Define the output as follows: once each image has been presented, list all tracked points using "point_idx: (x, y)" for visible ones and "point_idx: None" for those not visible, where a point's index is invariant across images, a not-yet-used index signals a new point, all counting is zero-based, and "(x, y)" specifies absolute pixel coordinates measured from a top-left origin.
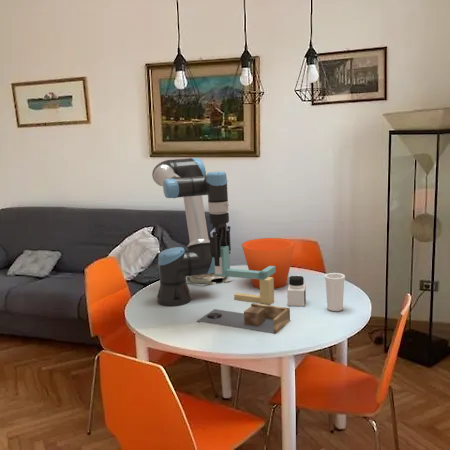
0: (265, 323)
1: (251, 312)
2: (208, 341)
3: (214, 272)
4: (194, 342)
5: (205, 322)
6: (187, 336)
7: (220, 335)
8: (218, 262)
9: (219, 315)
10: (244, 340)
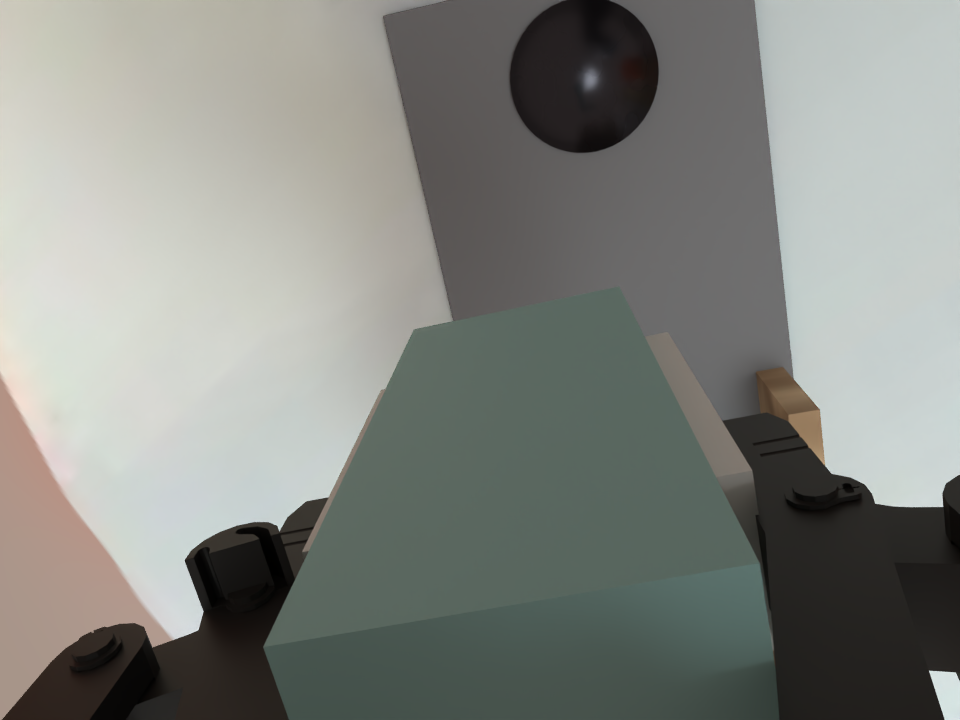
0: None
1: None
2: (167, 390)
3: (405, 353)
4: (85, 317)
5: (408, 119)
6: (118, 189)
7: (302, 393)
8: None
9: (612, 117)
10: None
